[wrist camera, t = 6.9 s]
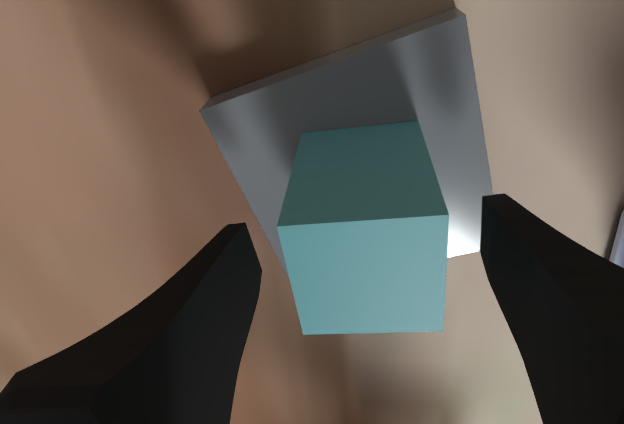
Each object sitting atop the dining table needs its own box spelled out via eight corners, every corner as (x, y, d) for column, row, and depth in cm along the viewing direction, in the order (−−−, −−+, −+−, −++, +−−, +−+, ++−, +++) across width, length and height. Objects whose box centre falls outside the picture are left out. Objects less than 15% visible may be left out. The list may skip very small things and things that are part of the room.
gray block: (451, 5, 13) (465, 14, 12) (487, 217, 18) (501, 246, 16) (215, 92, 16) (199, 110, 14) (299, 261, 20) (294, 289, 19)
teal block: (418, 120, 14) (449, 215, 9) (418, 217, 16) (443, 331, 11) (301, 132, 14) (276, 226, 10) (317, 224, 17) (302, 334, 12)
